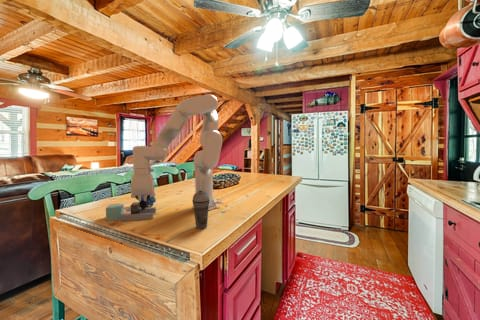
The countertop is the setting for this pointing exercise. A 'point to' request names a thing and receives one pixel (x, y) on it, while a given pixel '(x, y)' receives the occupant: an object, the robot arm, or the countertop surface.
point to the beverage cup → (201, 208)
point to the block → (114, 212)
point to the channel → (139, 215)
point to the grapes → (150, 200)
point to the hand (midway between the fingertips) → (143, 208)
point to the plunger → (133, 209)
